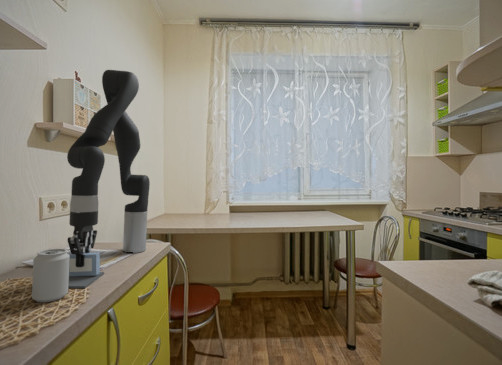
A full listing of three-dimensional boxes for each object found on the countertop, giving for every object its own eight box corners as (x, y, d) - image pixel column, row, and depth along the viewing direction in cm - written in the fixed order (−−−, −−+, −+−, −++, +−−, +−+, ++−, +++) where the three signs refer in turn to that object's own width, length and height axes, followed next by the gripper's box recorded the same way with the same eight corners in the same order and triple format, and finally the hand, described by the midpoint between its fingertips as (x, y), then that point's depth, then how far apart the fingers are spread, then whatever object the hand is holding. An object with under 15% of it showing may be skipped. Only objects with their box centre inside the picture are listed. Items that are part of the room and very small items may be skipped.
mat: (58, 273, 85) (58, 271, 86) (104, 273, 87) (104, 272, 87) (31, 288, 74) (31, 286, 74) (85, 288, 75) (85, 286, 75)
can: (66, 289, 74) (67, 246, 74) (70, 298, 68) (72, 251, 68) (31, 296, 69) (33, 249, 69) (32, 306, 63) (34, 256, 63)
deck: (69, 274, 84) (69, 253, 84) (99, 272, 85) (99, 252, 85) (65, 276, 82) (65, 255, 82) (96, 275, 83) (96, 254, 83)
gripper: (83, 207, 90) (81, 259, 90) (57, 211, 76) (55, 272, 76) (106, 208, 91) (104, 259, 91) (85, 212, 77) (83, 272, 77)
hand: (82, 265), depth 83 cm, fingers closed on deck, 2 cm apart
